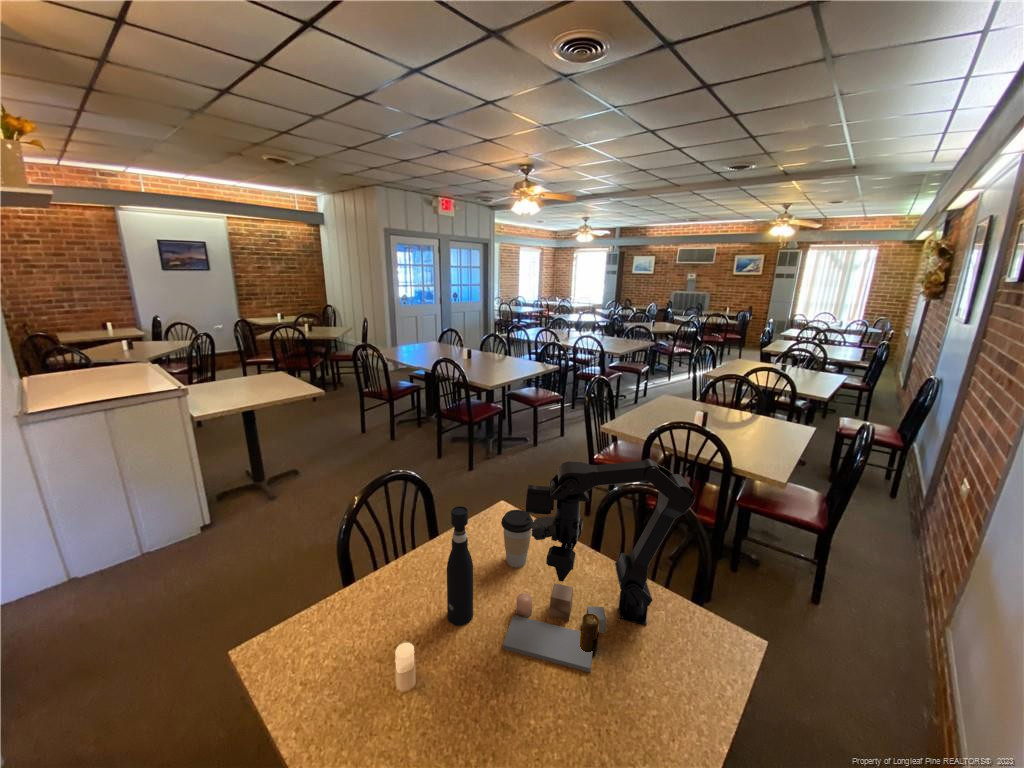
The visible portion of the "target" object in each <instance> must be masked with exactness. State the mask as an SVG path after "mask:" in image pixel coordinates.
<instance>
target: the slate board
mask: <svg viewBox="0 0 1024 768" xmlns="http://www.w3.org/2000/svg"><path fill="white" fill-rule="evenodd" d="M580 632H581V631H580V630H576V629H572V628H567V627H563V626H559V625H555V624H552V623H547V622H543V621H539V620H535V619H532V618H529V617H528V618H524V617H520V616H518V615H517V614H516V615H515V614H513V615H512V617H511V621H510V623H509V626H508V630H507V633H506V635H505V637H504V640H503V643H502V649H503V650H505V651H508V652H512V653H517V654H520V655H525V656H527V657H531V658H534V659H538V660H543V661H546V662H549V663H553V664H557V665H561V666H564V667H568V668H571V669H575V670H579V671H583V672H586V673H591V668H592V660H593V659H592V658H593V652H594V650H593V651H591V652H585V651H583V650H582V649H581V647H580Z"/></svg>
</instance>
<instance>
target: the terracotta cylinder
mask: <svg viewBox="0 0 1024 768" xmlns="http://www.w3.org/2000/svg"><path fill="white" fill-rule="evenodd" d="M515 609H516V610H515V613H516V616H520V617H524V618H528V619H529V617H531V616H532V613H533V597H532V596H531V594H529V593H527V592H523V593H522V592H521V593H519V594H518V595H517V596H516V608H515Z"/></svg>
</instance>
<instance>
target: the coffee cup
mask: <svg viewBox="0 0 1024 768" xmlns="http://www.w3.org/2000/svg"><path fill="white" fill-rule="evenodd" d="M533 522H534V520H533V517H532V516H531V513H526V510H522V509H512V510H509V511H507V512H506V513H504V516H503V517H502V518H501V527H502V528H503V542H504V548H505V557H506V559H505V560H506V564H508V565H509V566H510V567H512V568H515V569H516V568H519V569H520V568H521V567H524V566H525V565H526V563H527V558H528V553H529V552H528V551H529V548H530V542H531V537H532V525H533Z"/></svg>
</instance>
